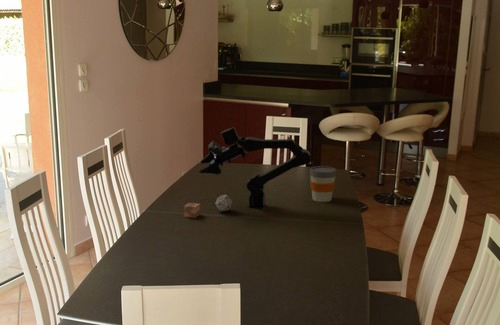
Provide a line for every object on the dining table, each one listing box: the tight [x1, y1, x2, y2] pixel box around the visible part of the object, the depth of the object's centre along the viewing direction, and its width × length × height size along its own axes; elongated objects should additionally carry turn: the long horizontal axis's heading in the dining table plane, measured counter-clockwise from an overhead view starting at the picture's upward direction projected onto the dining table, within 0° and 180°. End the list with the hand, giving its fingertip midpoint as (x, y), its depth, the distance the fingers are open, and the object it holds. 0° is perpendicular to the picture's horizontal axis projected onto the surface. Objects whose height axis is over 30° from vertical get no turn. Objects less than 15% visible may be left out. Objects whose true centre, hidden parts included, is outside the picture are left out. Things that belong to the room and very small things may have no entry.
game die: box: [212, 192, 235, 214], centre depth 247 cm, size 9×8×10 cm
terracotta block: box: [183, 202, 201, 219], centre depth 242 cm, size 5×5×5 cm
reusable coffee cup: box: [309, 165, 337, 203], centre depth 265 cm, size 13×13×15 cm
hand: (200, 167), depth 253 cm, fingers open, 9 cm apart
